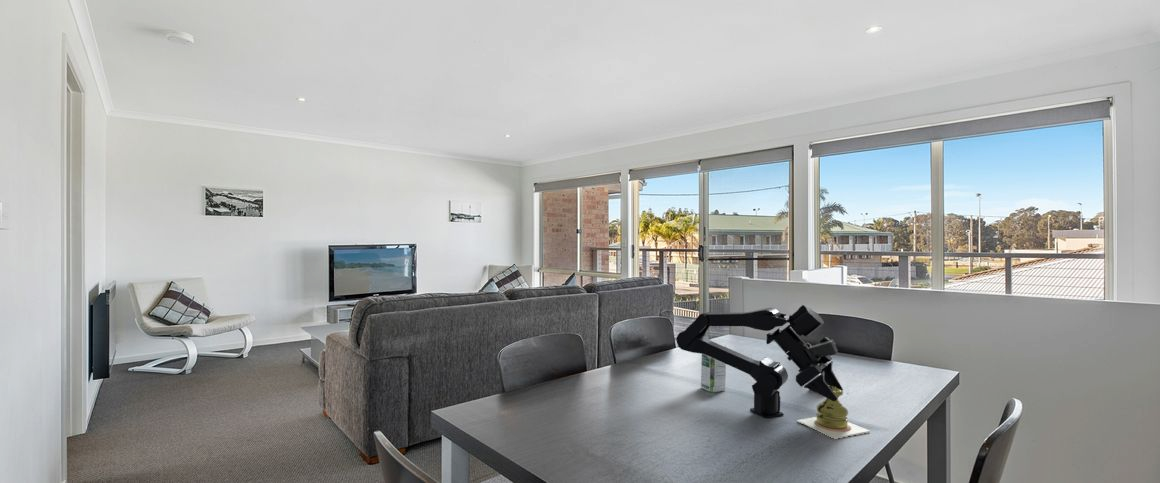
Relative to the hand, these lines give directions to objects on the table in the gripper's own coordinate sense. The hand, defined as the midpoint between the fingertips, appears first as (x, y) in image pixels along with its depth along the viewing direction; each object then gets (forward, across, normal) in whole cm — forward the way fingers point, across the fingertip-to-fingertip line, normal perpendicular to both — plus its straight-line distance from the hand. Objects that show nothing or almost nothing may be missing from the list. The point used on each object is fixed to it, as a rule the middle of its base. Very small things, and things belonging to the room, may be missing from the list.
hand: (838, 395), depth 128 cm
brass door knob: (+5, 0, +7) cm, 8 cm away
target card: (+5, 0, +7) cm, 9 cm away
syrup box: (-20, +12, +33) cm, 41 cm away
